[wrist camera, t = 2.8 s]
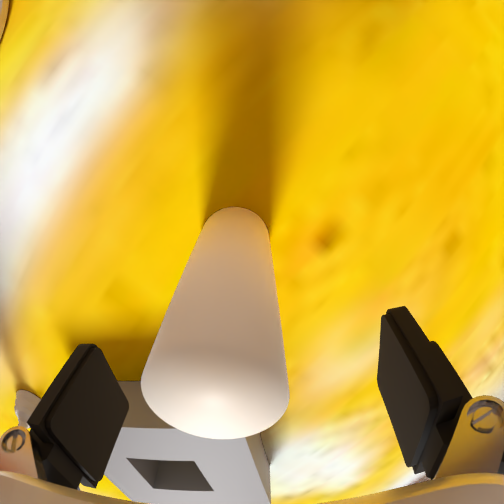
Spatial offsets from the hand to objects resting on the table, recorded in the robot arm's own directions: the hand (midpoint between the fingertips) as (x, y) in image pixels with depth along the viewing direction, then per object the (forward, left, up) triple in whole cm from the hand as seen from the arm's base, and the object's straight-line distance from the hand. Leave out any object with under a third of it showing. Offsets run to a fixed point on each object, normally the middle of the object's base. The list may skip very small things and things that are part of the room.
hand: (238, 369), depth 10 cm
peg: (-1, -1, -10) cm, 10 cm away
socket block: (+17, -10, -10) cm, 22 cm away
